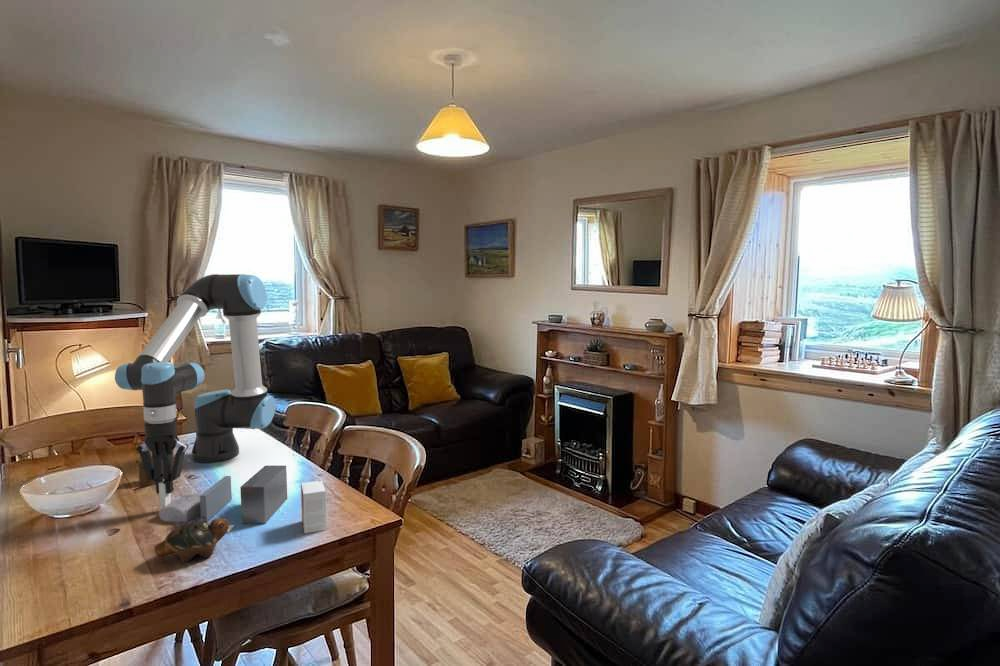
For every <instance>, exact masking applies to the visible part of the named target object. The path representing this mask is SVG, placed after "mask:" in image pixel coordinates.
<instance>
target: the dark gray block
mask: <svg viewBox="0 0 1000 666" xmlns="http://www.w3.org/2000/svg"><path fill="white" fill-rule="evenodd" d="M287 477H288V475H287V465H264V466H263V467H262V468H261V469H259V470H258V471H257V472H256V473H255V474H254V475H253V476H251V477H250V478H249V479H248V480H247V481H245V483H243V484H242V485H241V486H240V509H241V510H240V511H241V524H242V525H265V524H267V522H269V520H270V519H271V518H273V516H274V514H275V513H277V511H279V509H280V508H281V506H283V504H284V503H285V502H286V501H287V500H288V481H287V480H288V479H287Z"/></svg>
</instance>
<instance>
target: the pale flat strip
mask: <svg viewBox="0 0 1000 666" xmlns="http://www.w3.org/2000/svg"><path fill="white" fill-rule="evenodd" d="M234 528H235V524H233V525H232V524H229V528H228V530H227V532H226V533H230V532H231V531H232V530H233V529H234Z"/></svg>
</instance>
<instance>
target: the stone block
mask: <svg viewBox="0 0 1000 666" xmlns="http://www.w3.org/2000/svg"><path fill="white" fill-rule="evenodd" d="M201 494H202V493H200V492H199V493H197V492H196V493H192V494H187V495H183V496H182V497H180V498H178V499H176V500H174V501H172V502H171V503H170V504H168V505H167V506H162V507H160V508H159V510H158V516H159V519H160V520H161V521H164V522H172V523H173V522H175V523H189V522H191V521H192V520H193V519H195V518H196V517H198V516H201V508H200V495H201Z"/></svg>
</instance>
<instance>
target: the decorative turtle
mask: <svg viewBox="0 0 1000 666" xmlns="http://www.w3.org/2000/svg"><path fill="white" fill-rule="evenodd" d="M229 523H230V522H229V521H228V520H227V519H226V518H224V517H217V518H215V519H212V521H210V522H207V521H199V520H197V521H189V522H185V523H184V524H182V525H180V526H177V527H175V528H174V529H172V530H171V531H170V532H169V533H168V534H167V535H166V537H165V539H164V540H163V541H161V542H159V543H157V544H156V545H155V546H154V551H155V554H156V555H155V556H157V557H158V558H161V557H166V556H169V555H174V554H176V555H177V556H178V557H180V560H181V561H182V562H183V563H188V562H190V561H191V560H192V559H193V558H194V557H196V556H197V555H200V556H202V558H204V559H210V558H211V557H212V556H213V553H214V550H215V548H216V546H217V543H218V542H219V541H221V540H222V538H223V537H224V536H225V535H226V533H228V532H227V530H228V528H229V525H230V524H229Z"/></svg>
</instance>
